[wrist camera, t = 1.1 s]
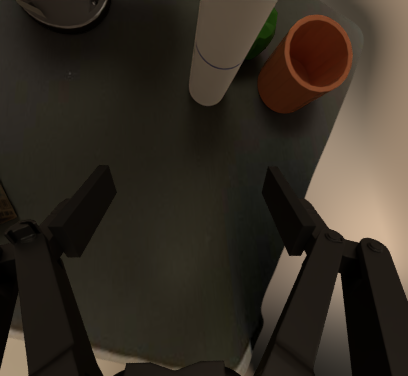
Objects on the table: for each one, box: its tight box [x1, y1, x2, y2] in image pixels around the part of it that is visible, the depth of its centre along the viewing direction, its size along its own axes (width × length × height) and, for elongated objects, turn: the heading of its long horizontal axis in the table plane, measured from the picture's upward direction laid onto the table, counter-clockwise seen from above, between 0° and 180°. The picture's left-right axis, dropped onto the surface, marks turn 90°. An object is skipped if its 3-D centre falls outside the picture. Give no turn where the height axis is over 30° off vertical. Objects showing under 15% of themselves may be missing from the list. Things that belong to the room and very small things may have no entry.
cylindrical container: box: [189, 0, 277, 106], centre depth 25 cm, size 7×7×25 cm
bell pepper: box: [244, 8, 278, 60], centre depth 33 cm, size 8×8×10 cm
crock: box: [258, 15, 353, 113], centre depth 35 cm, size 12×12×10 cm
